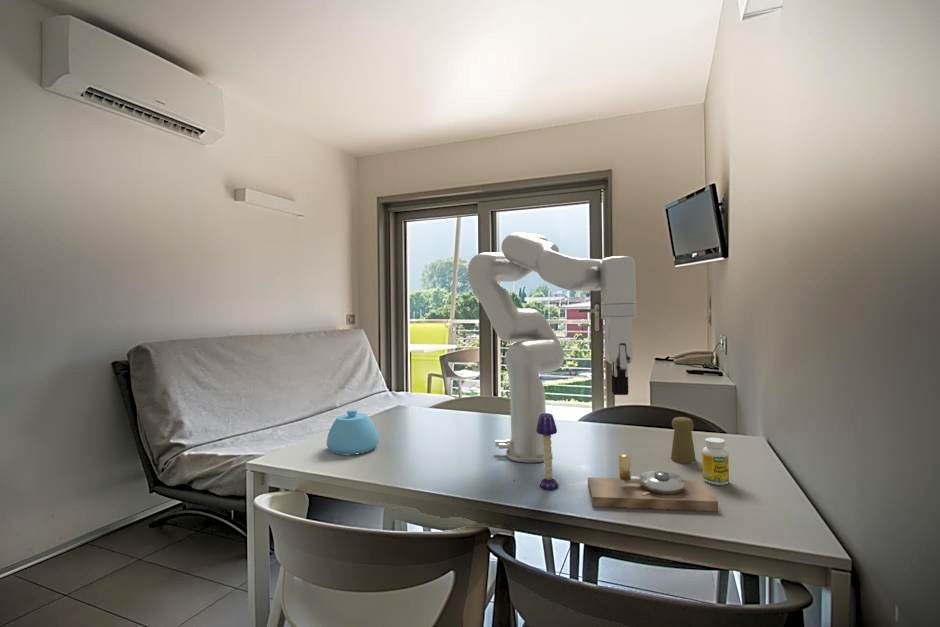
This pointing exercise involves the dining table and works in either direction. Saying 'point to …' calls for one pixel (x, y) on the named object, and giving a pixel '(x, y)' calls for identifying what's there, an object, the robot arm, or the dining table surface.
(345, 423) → the sugar bowl
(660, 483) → the crank handle
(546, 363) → the robot arm
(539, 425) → the toy lamp
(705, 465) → the supplement bottle
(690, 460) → the cork
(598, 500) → the stand plate
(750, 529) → the dining table surface
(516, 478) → the dining table surface
